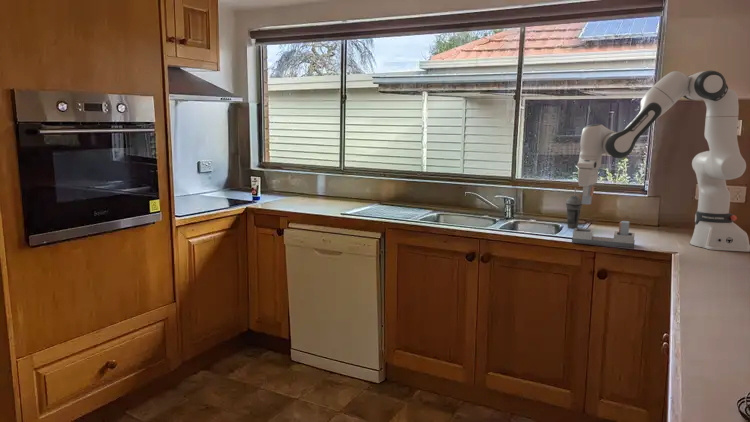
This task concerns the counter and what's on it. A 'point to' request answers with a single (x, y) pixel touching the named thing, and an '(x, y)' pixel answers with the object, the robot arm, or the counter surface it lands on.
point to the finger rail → (603, 238)
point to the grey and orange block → (588, 198)
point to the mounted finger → (624, 227)
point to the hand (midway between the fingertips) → (587, 195)
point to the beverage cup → (573, 210)
